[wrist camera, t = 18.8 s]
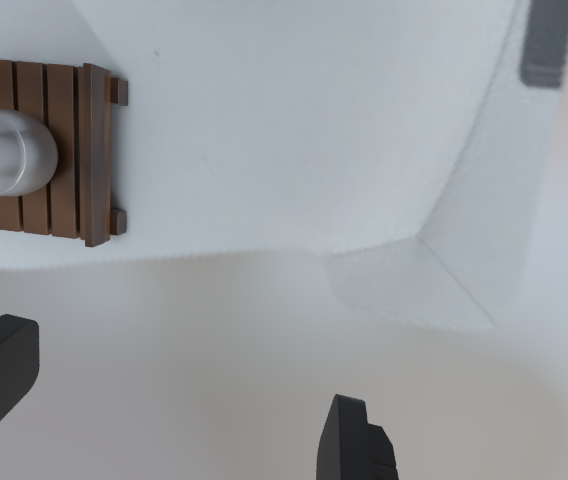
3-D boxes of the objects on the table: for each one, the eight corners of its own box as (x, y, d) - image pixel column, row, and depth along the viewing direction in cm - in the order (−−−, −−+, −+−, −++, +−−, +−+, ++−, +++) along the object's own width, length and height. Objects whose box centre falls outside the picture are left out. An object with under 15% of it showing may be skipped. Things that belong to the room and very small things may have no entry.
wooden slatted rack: (-27, 61, 36) (-74, 49, 32) (128, 74, 35) (100, 64, 30) (-16, 220, 39) (-58, 228, 35) (126, 237, 38) (100, 248, 34)
